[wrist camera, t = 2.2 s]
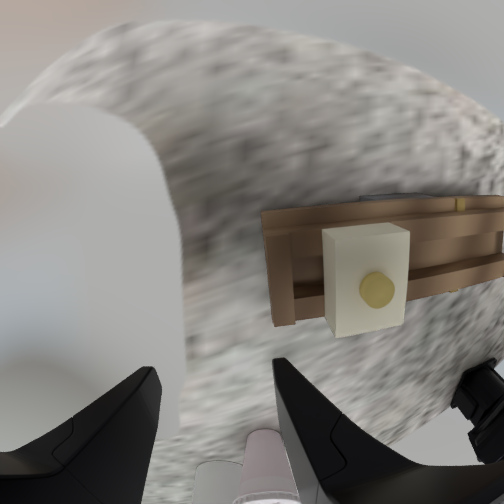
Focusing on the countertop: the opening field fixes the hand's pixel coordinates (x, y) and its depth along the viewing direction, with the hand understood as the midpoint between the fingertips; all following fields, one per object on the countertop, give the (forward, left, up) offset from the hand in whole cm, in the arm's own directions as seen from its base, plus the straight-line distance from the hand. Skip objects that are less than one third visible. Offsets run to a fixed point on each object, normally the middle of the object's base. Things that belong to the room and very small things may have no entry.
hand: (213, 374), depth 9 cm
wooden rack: (-12, 0, -13) cm, 18 cm away
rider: (-7, 0, -9) cm, 12 cm away
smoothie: (0, +21, -13) cm, 25 cm away
